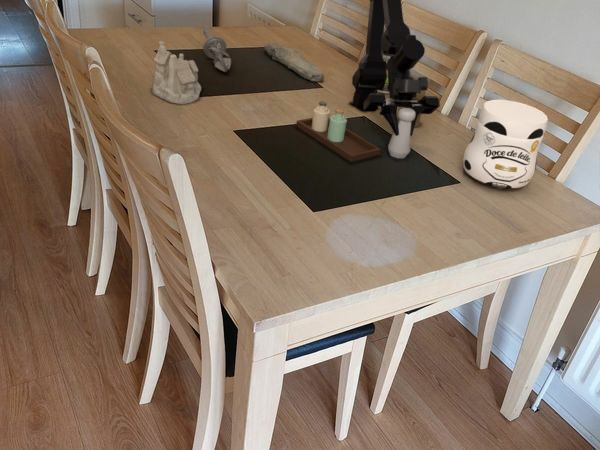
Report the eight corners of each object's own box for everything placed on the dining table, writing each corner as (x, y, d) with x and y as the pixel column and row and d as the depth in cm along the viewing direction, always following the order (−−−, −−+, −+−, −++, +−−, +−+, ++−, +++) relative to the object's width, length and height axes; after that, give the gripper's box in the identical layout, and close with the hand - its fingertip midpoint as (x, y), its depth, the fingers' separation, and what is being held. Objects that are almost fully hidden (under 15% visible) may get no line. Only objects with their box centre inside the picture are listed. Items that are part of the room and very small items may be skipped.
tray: (324, 122, 169) (325, 115, 168) (379, 156, 154) (381, 149, 153) (295, 127, 163) (296, 120, 162) (350, 163, 148) (351, 156, 147)
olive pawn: (421, 122, 177) (430, 86, 171) (416, 128, 172) (425, 92, 167) (402, 116, 179) (410, 81, 173) (396, 123, 174) (404, 87, 168)
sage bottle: (336, 134, 161) (340, 106, 157) (346, 140, 158) (351, 112, 154) (323, 136, 159) (328, 108, 154) (334, 143, 156) (338, 114, 152)
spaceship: (218, 21, 215) (198, 13, 211) (243, 63, 190) (221, 54, 186) (209, 41, 219) (189, 33, 214) (232, 84, 194) (210, 76, 189)
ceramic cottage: (171, 105, 166) (173, 51, 159) (142, 88, 176) (143, 36, 169) (218, 100, 175) (222, 48, 168) (188, 84, 186) (190, 34, 178)
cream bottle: (320, 124, 166) (324, 99, 162) (330, 130, 163) (334, 104, 159) (308, 126, 163) (311, 101, 159) (317, 132, 160) (321, 107, 156)
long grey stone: (304, 87, 194) (329, 86, 199) (307, 72, 191) (333, 71, 197) (256, 48, 217) (279, 48, 222) (258, 34, 214) (281, 34, 220)
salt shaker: (410, 155, 157) (421, 108, 150) (406, 163, 152) (417, 116, 145) (388, 149, 158) (398, 103, 151) (384, 157, 153) (394, 110, 146)
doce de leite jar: (491, 200, 141) (515, 130, 131) (445, 166, 153) (463, 100, 143) (543, 190, 148) (569, 123, 138) (495, 159, 161) (515, 95, 151)
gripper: (375, 61, 144) (379, 122, 141) (446, 65, 148) (452, 125, 145) (361, 81, 154) (365, 138, 151) (428, 85, 158) (433, 140, 155)
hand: (404, 135), depth 150 cm, fingers closed on salt shaker, 3 cm apart
